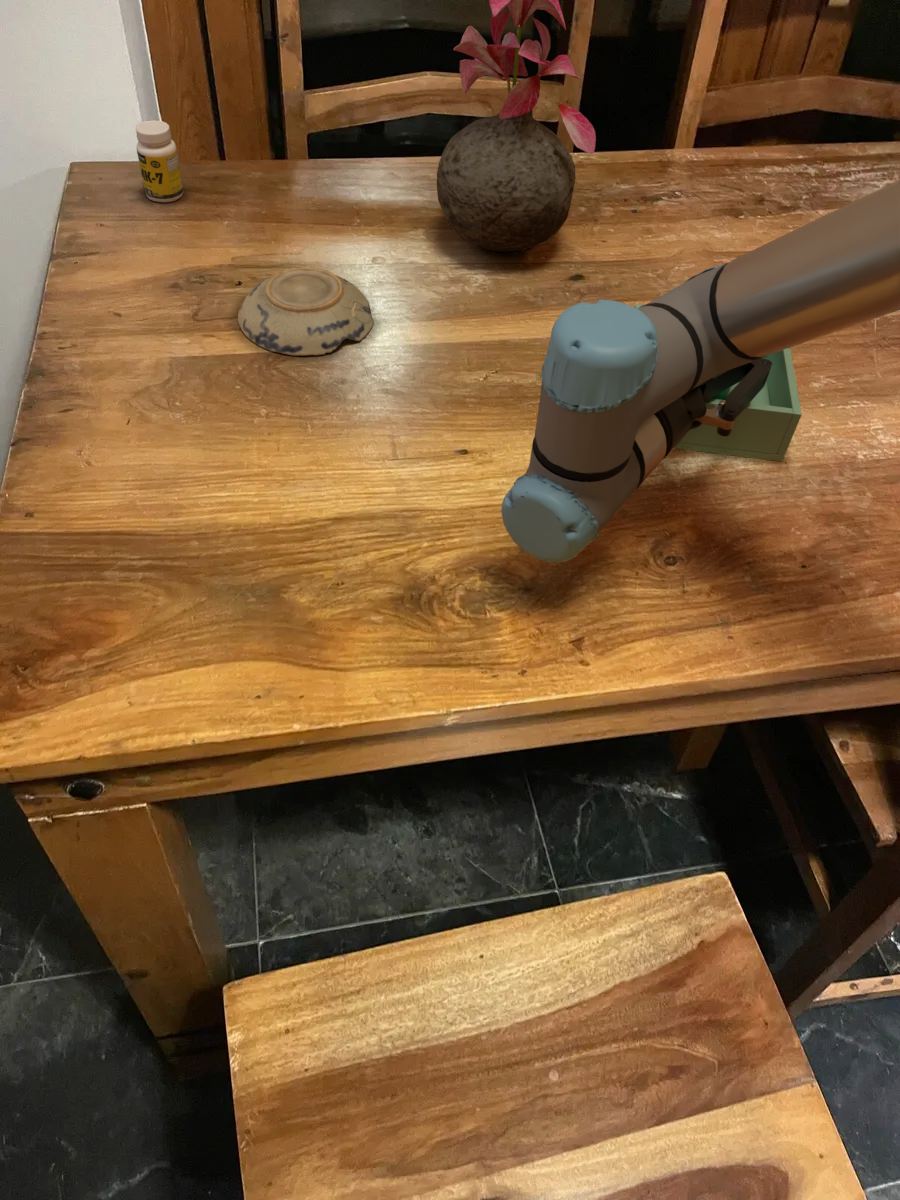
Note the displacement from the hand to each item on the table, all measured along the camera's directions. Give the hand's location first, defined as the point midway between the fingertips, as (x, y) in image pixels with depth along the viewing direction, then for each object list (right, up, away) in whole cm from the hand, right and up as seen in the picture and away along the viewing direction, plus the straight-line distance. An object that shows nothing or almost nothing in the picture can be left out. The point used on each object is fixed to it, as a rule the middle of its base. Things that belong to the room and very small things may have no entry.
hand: (741, 315), depth 93 cm
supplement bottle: (-66, +23, +26) cm, 74 cm away
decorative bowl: (-45, +3, +10) cm, 46 cm away
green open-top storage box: (-3, -8, +3) cm, 9 cm away
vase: (-22, +16, +22) cm, 35 cm away
